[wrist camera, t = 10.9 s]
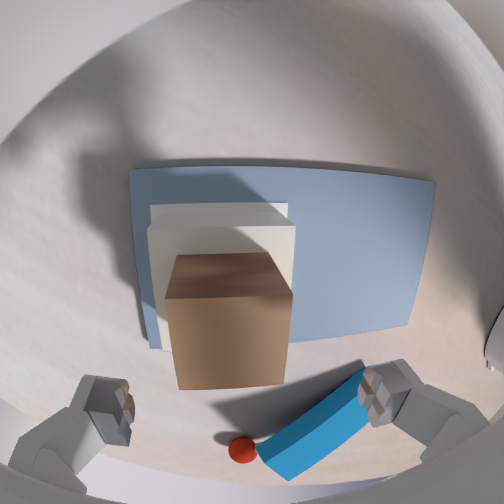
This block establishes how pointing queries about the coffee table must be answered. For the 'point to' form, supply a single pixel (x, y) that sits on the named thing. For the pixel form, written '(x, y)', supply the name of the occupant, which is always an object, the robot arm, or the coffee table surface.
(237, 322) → the walnut cube
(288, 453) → the lever
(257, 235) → the base block
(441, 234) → the coffee table surface
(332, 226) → the board
